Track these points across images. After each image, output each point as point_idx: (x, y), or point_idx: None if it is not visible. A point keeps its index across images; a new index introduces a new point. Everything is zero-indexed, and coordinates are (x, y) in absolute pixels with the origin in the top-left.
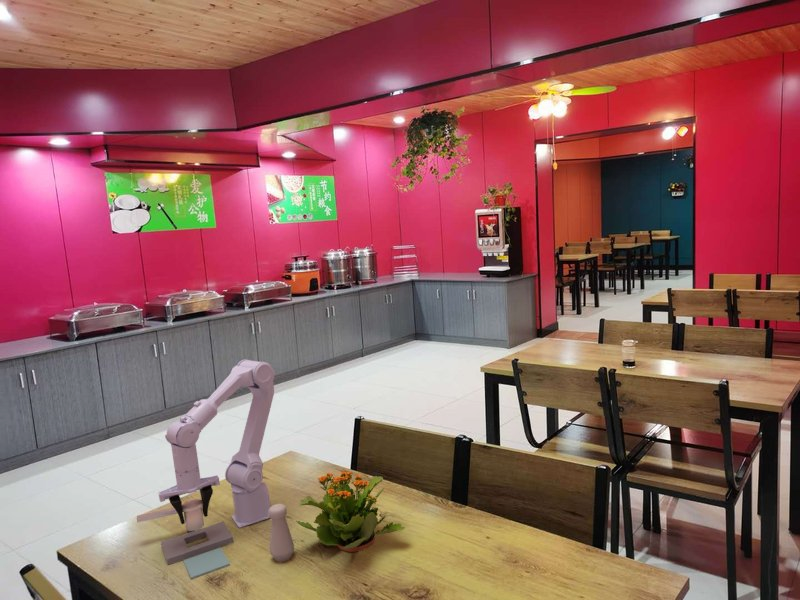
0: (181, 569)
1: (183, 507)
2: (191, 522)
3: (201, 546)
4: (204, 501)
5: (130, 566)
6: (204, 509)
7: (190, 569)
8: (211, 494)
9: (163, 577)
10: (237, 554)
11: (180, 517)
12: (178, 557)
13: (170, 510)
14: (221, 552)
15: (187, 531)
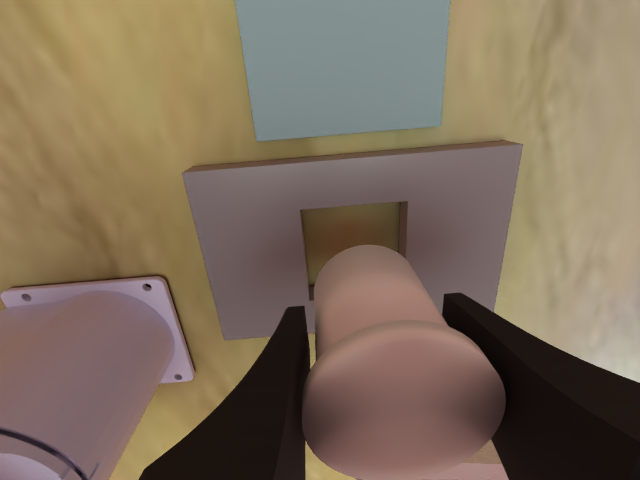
0: (465, 51)
1: (489, 403)
2: (404, 276)
3: (347, 171)
4: (285, 395)
5: (623, 229)
6: (299, 340)
7: None
8: (165, 456)
9: (560, 25)
10: (174, 16)
11: (501, 317)
12: (463, 146)
13: (472, 464)
14: (256, 80)
15: None
